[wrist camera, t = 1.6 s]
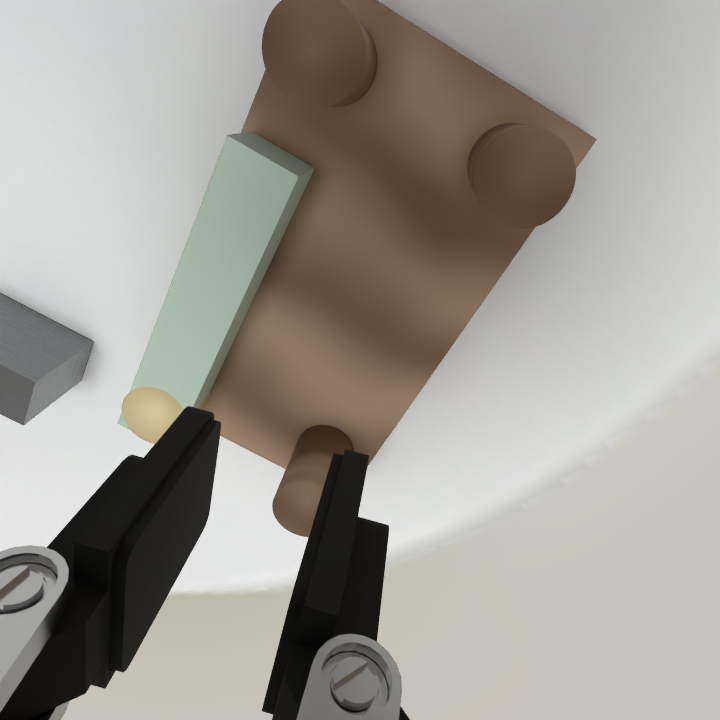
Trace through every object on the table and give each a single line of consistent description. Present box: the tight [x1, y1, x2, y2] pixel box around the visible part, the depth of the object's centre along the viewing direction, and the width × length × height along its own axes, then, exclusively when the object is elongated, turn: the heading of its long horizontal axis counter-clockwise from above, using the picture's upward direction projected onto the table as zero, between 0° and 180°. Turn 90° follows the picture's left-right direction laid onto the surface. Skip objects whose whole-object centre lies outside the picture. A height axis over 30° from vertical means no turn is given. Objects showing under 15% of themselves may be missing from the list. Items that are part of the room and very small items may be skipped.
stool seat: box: [202, 0, 597, 537], centre depth 24 cm, size 22×13×7 cm, turn 151°
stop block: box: [0, 293, 93, 425], centre depth 29 cm, size 3×6×5 cm, turn 61°
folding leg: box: [118, 132, 315, 444], centre depth 25 cm, size 15×3×3 cm, turn 151°
